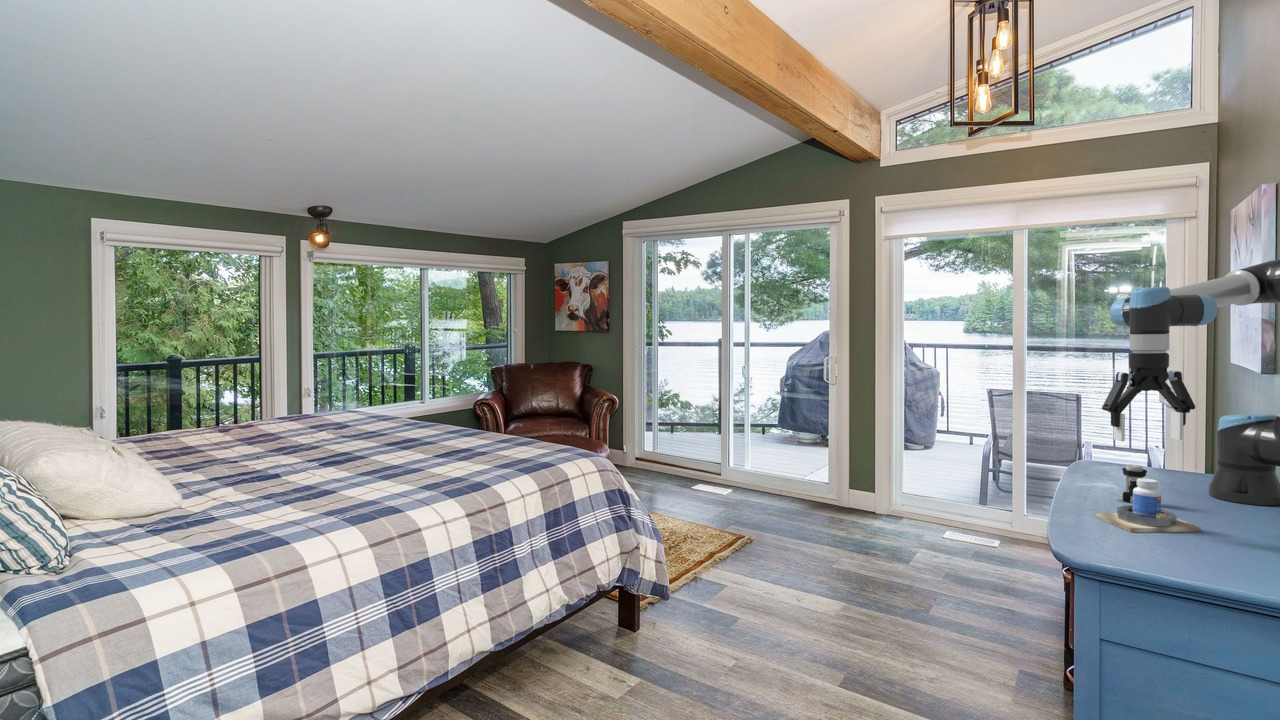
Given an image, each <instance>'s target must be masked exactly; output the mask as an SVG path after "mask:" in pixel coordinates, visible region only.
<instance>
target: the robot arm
mask: <svg viewBox="0 0 1280 720" xmlns="http://www.w3.org/2000/svg"><path fill="white" fill-rule="evenodd" d="M1252 304H1280V258H1277V259H1274V260H1273V259H1272V260H1269V261H1265V262H1262V263H1258V264H1255V265H1251V266H1248V267H1245V268H1239V269H1236V270H1232V271H1229V272H1228V273H1226V274H1225V275H1224V276H1223V277H1219V278H1214V279H1211V280H1206V281H1202V282H1196V283H1191V284H1189V285H1184V286H1179V287H1176V288H1171V289H1170V288H1169V287H1168V286H1155V287H1154V286H1153V287H1152V286H1150V287H1136V288H1134V289H1132V290H1131V292H1130V296H1129V297H1126V298H1125V297H1124V298H1119V299H1117V300H1115V301H1114V302H1113V303H1112V305H1111V306H1110V309H1109V310H1110V311H1109V313H1110V314H1109V315H1110V319H1111V320H1112V322H1113V323H1114V324H1115V325H1116V326H1120V327H1128V328H1129V351H1132V352H1130V354H1128V356H1129V357H1128V359H1129V360H1128V363H1129V364H1128V366H1129V369H1130V372H1129V373H1128V372H1120V371H1119V372H1116V374H1115V381H1114V383H1113V385H1112V387H1111V389H1110V391H1109V393H1108V395H1107V397H1106V399H1105V401H1104V402H1103V405H1102V407H1101V409H1102V410H1103V411H1105V412H1106V411H1107V412H1108V413H1110V426H1111V427H1113V440H1115V441H1119V442H1125V441H1126V440H1125V438H1126V434H1125V433H1126V431H1125V430H1126V429H1125V428H1126V414H1125V413H1122V412H1124V410H1125V409H1126V408H1127V407H1128V406H1129V405H1130V403H1131V402H1132V401H1133V400H1134V398H1135V397H1136V396H1137V395H1138V394H1140V393H1141V392H1143V391H1144V392H1148V391H1149V392H1150V391H1153V392H1155V391H1157V392H1158V393H1159V394H1160V395H1161V396H1162V398H1164V399H1165V401H1166V402H1167V403H1168V405H1170V407H1172V409H1173V410H1174V411H1170V439H1172V440H1178V441H1183V440H1184V426H1186V422H1187V419H1186V418H1187V414H1189V413H1190V412H1191V410H1195V409H1196V405H1195V403H1194V401H1193V399H1192V397H1191V395H1190V393H1189V391H1188V388H1187V387H1186V384H1185V383H1184V381H1183V373H1182V372H1181V371H1176V370H1170V371H1168V368H1169V367H1170V354H1169V352H1168V351H1170V330H1171V327H1198V326H1204V325H1208V324H1210V323H1211V322H1213V321H1214V320H1215V319H1216V317H1217V315H1218V310H1219V309H1218V308H1222V307H1225V306H1226V307H1227V306H1230V305H1235V306H1247V305H1252ZM1167 380H1168V381H1169V384H1170V385H1171V387H1172V388H1171V387H1170V385H1169V384H1168V383H1167ZM1130 381H1131V382H1130ZM1128 382H1130V383H1129V384H1128ZM1125 389H1126V390H1125ZM1172 389H1173V390H1172ZM1216 430H1217V431H1216V432H1217V464H1216V465H1217V466H1216V469H1215V472H1214V474H1213V477H1212V479H1211V483H1209V484H1208V495H1209V496H1210V497H1212V498H1216V499H1218V500H1223V501H1228V502H1233V503H1238V504H1248V505H1255V506H1256V505H1257V506H1278V505H1280V481H1279V478H1278V476H1277V472H1276V471H1277V467H1280V412H1279V413H1277V414H1269V413H1268V414H1267V413H1265V414H1263V413H1261V414H1259V413H1258V414H1257V413H1255V414H1254V413H1252V414H1228V415H1223V416H1221V417H1220V418H1219V420H1218V425H1217V429H1216Z"/></svg>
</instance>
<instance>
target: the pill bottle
mask: <svg viewBox="0 0 1280 720" xmlns="http://www.w3.org/2000/svg"><path fill="white" fill-rule="evenodd" d="M1158 484H1159V482H1158V480H1156V479H1152V478H1144V477H1143V478H1138V479H1137V485H1138V487H1136V488H1134V489H1133V503H1132V506H1133V513H1136V514H1141V515H1147V516H1156V513H1161V509H1162V492H1161V490H1159V489H1157V488H1158V487H1159V485H1158Z"/></svg>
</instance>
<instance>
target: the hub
mask: <svg viewBox="0 0 1280 720" xmlns="http://www.w3.org/2000/svg"><path fill="white" fill-rule="evenodd" d="M1116 508H1117V512H1116V513H1117V516H1118V518H1119V519H1121V520H1123V521H1126V522H1129V523H1133V524H1138V525H1143V526H1152V527H1171V526H1174V525H1176V519H1178V518H1177V515H1176V514H1175V513H1174V512H1172V511H1169V510H1166V509H1162V508H1161V513H1156V516H1147V515H1141V514H1136V513H1133V505H1122V506H1118V507H1116Z"/></svg>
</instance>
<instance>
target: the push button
mask: <svg viewBox="0 0 1280 720" xmlns="http://www.w3.org/2000/svg"><path fill="white" fill-rule="evenodd" d="M1143 467H1144V466H1143V465H1138V464H1126V465H1125V467H1123V468H1121V471H1122V474H1123V475H1124V476H1125V488H1124V491H1123V492H1122V494H1116V496H1119V497H1115V499H1117V500H1120V501H1121V500H1122V503H1130V504H1133V489H1134V488H1136V487H1138V485H1137V479H1139V478H1144V477H1146V476H1147V473H1148V470H1147V469H1144V468H1143ZM1120 497H1121V498H1120Z"/></svg>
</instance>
